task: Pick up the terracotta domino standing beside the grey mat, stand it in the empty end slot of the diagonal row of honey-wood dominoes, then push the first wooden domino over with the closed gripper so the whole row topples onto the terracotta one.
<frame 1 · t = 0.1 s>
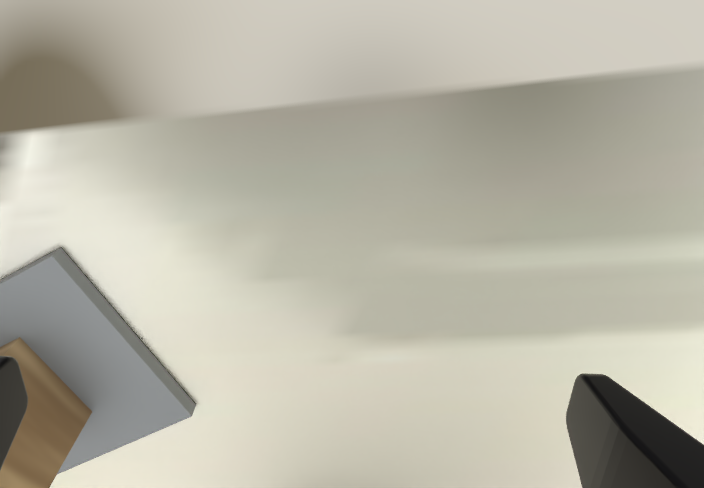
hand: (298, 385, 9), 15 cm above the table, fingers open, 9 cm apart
domino 1: (42, 382, 27), point 1 cm above the table, touching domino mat
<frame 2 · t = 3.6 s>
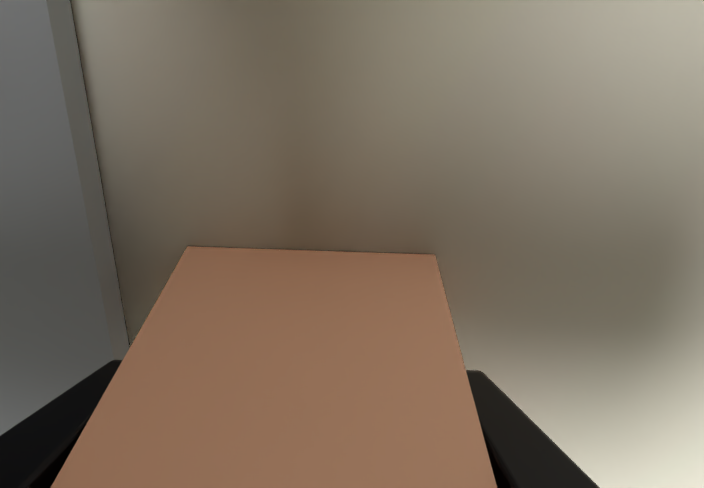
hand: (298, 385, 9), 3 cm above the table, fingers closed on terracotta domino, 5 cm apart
terracotta domino: (311, 288, 12), on the table, touching gripper
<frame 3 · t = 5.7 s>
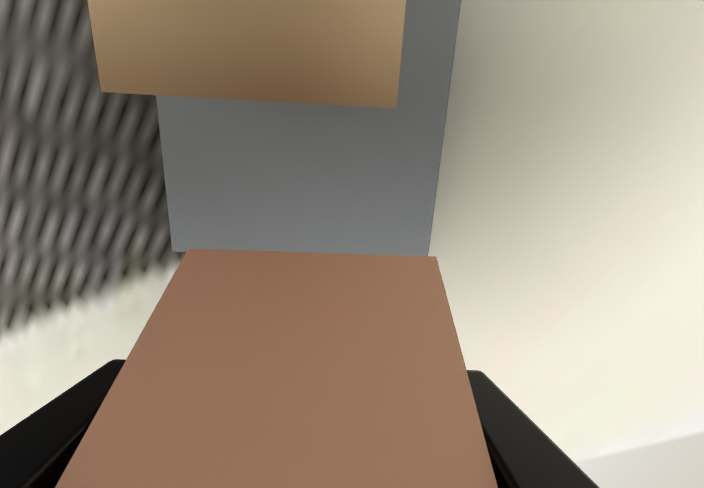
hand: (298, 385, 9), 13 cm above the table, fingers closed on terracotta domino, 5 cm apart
terracotta domino: (312, 290, 12), point 10 cm above the table, touching gripper
when the fingers open (5 cm above the table, at t = 8.1 s): terracotta domino stays where it is, resting on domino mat.
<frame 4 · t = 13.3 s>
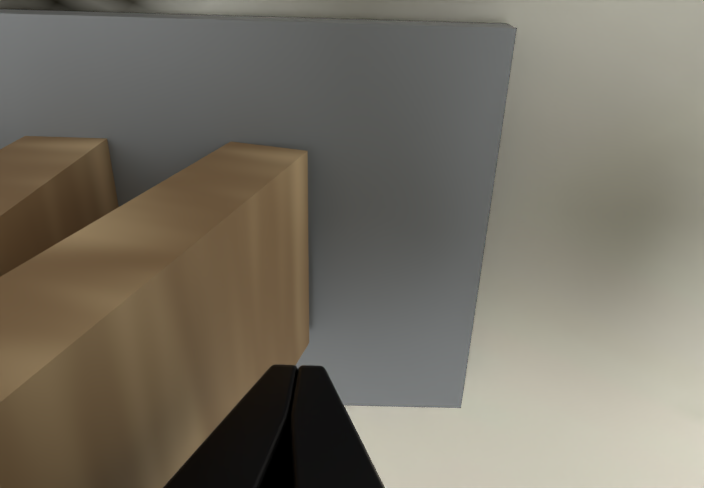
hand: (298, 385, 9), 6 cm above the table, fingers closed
domino 2: (86, 239, 14), point 1 cm above the table, touching domino 1, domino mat
domino 1: (272, 248, 14), point 1 cm above the table, tilted 16°, touching domino 2, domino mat
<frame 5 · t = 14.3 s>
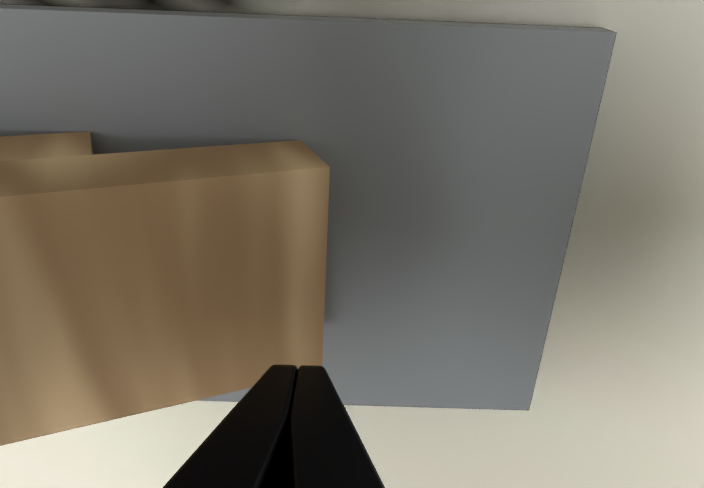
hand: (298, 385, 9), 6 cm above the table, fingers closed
domino 2: (108, 251, 13), point 2 cm above the table, tilted 67°, touching domino 1, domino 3
domino 1: (311, 259, 13), point 2 cm above the table, tilted 67°, touching domino 2, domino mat
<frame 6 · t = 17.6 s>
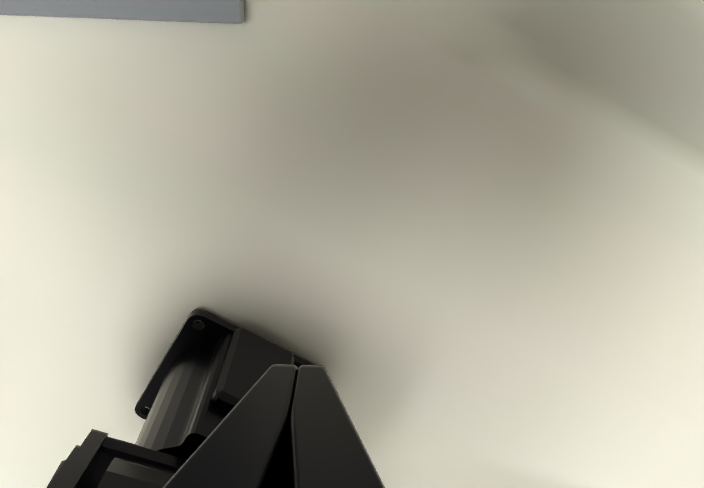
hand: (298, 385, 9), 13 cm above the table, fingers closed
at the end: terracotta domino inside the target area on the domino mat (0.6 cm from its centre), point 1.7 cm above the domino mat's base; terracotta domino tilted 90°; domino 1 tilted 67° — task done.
